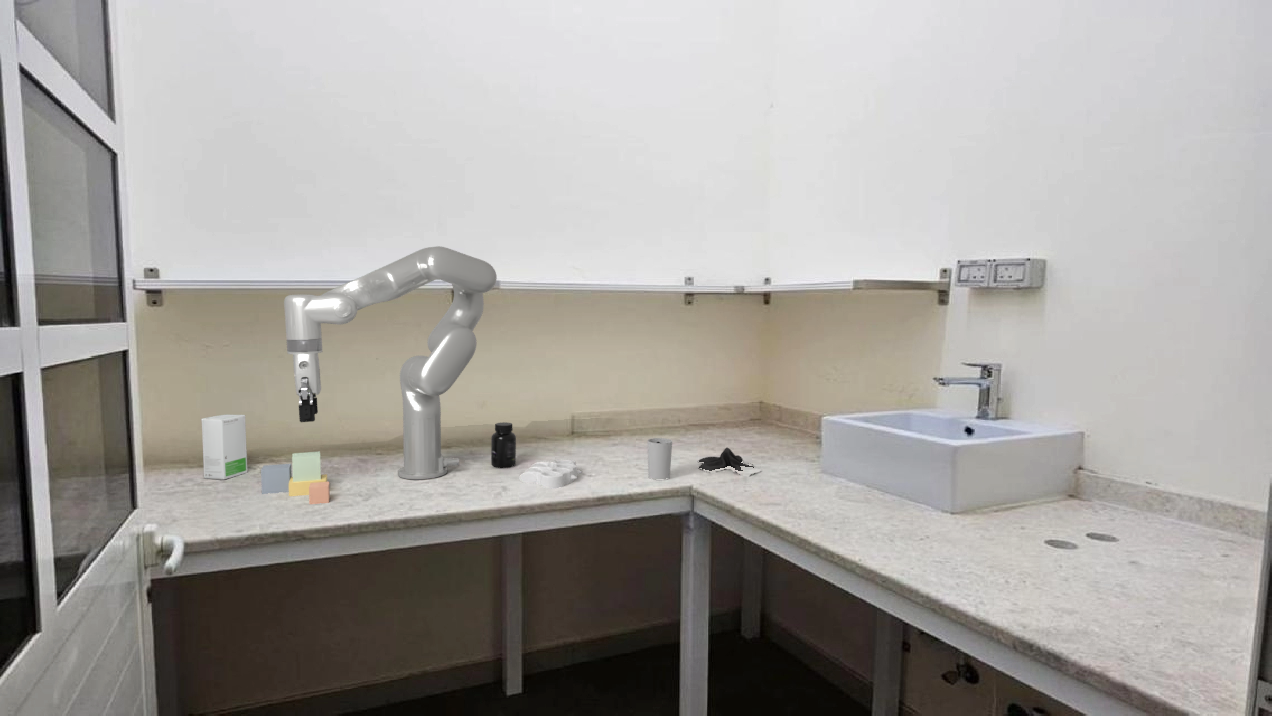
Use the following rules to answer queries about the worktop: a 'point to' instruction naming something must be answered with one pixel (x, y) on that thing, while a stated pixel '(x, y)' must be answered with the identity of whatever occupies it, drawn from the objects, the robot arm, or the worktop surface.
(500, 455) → the supplement bottle
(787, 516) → the worktop surface
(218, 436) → the skincare box
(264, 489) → the slate block
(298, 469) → the sage block
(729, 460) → the cloth
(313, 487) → the terracotta cube
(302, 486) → the ochre block
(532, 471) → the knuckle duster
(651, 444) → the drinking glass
